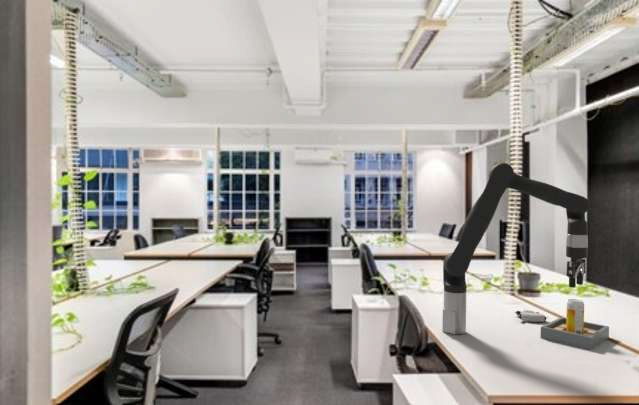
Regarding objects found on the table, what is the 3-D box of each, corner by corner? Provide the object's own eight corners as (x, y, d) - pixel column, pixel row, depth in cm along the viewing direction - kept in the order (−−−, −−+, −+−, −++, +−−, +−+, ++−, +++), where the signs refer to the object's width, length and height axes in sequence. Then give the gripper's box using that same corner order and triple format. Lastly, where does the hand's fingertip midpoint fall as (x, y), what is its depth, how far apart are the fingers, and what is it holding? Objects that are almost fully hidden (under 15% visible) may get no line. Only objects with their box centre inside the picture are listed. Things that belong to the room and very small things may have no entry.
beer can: (577, 335, 181) (578, 298, 181) (586, 340, 175) (587, 302, 175) (562, 335, 181) (563, 298, 181) (571, 340, 175) (572, 302, 175)
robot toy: (513, 317, 214) (519, 323, 200) (513, 308, 215) (519, 313, 200) (540, 319, 211) (549, 326, 197) (540, 310, 212) (549, 315, 197)
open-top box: (590, 352, 164) (591, 337, 164) (540, 340, 177) (540, 326, 177) (608, 340, 179) (609, 326, 179) (561, 329, 192) (561, 317, 192)
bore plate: (588, 346, 168) (588, 338, 168) (549, 337, 179) (549, 329, 179) (600, 338, 178) (600, 331, 178) (562, 330, 188) (562, 323, 188)
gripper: (573, 243, 185) (572, 282, 185) (560, 246, 175) (559, 286, 176) (593, 245, 179) (592, 285, 180) (581, 247, 170) (580, 289, 170)
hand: (575, 285), depth 178 cm, fingers open, 8 cm apart
